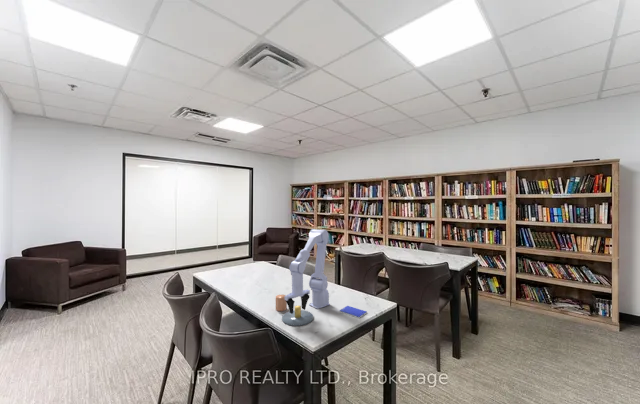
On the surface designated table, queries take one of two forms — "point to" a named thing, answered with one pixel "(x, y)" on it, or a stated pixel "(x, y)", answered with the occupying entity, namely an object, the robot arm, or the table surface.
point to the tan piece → (281, 303)
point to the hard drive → (353, 311)
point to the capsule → (297, 311)
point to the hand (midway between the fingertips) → (297, 310)
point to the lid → (291, 320)
